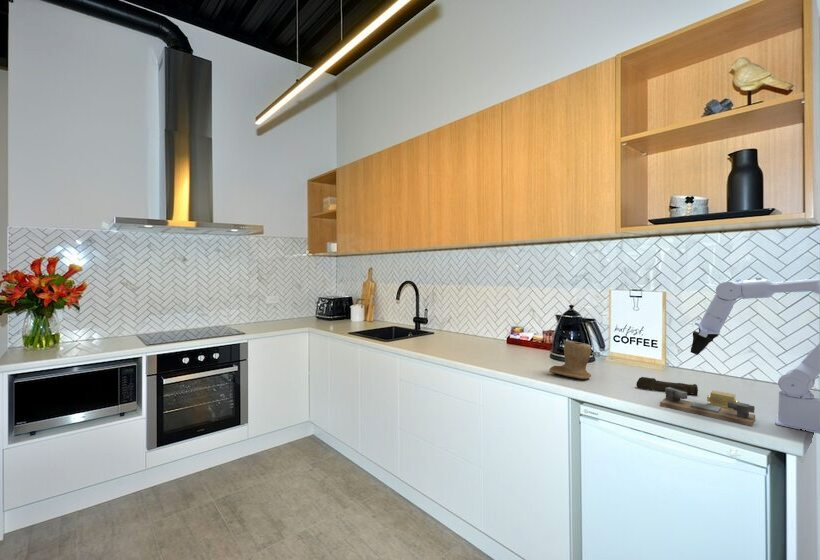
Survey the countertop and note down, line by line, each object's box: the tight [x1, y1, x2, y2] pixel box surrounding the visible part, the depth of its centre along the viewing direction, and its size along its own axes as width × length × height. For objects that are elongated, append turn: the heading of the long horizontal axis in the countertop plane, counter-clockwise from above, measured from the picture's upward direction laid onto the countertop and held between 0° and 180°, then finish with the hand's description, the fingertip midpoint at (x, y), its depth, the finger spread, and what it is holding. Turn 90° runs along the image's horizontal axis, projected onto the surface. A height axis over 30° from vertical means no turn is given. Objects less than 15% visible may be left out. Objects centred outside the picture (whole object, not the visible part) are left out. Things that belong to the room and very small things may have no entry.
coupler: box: [706, 389, 740, 411], centre depth 127 cm, size 8×4×4 cm, turn 44°
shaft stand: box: [659, 387, 756, 427], centre depth 123 cm, size 23×8×5 cm, turn 44°
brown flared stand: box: [548, 340, 592, 380], centre depth 163 cm, size 15×12×15 cm
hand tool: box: [636, 376, 699, 397], centre depth 144 cm, size 19×4×5 cm, turn 62°
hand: (696, 351), depth 132 cm, fingers open, 7 cm apart
